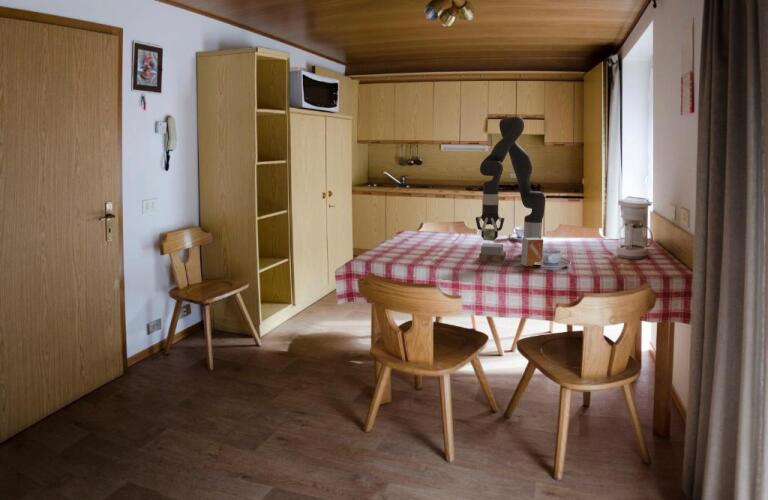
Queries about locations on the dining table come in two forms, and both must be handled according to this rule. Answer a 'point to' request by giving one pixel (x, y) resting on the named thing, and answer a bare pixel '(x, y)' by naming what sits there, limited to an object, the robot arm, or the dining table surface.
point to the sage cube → (489, 234)
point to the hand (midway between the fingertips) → (489, 238)
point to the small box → (531, 251)
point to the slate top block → (492, 249)
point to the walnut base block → (492, 258)
